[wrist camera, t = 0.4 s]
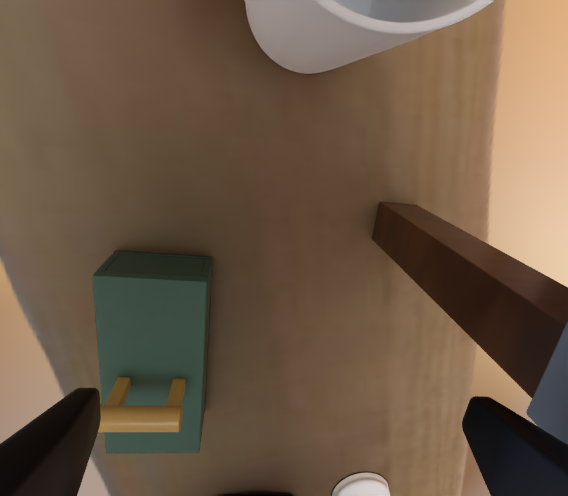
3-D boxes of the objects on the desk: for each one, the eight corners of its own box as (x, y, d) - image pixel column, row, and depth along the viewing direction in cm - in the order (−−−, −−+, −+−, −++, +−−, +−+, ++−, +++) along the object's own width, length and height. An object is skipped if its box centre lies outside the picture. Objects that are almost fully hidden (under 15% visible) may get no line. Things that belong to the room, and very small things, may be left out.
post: (407, 242, 23) (609, 402, 10) (371, 239, 22) (534, 402, 10) (416, 204, 22) (649, 331, 9) (379, 201, 22) (568, 327, 9)
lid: (200, 446, 23) (192, 504, 20) (108, 446, 22) (83, 507, 19) (208, 277, 19) (200, 314, 16) (95, 271, 18) (61, 308, 15)
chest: (204, 408, 26) (200, 443, 23) (123, 407, 25) (108, 443, 22) (212, 256, 22) (208, 277, 19) (115, 250, 21) (96, 271, 18)
